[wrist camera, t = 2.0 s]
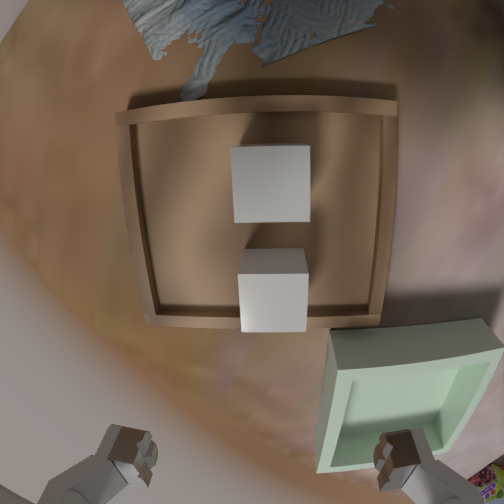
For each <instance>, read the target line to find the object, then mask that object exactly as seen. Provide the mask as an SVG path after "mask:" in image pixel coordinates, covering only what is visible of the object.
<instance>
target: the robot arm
mask: <svg viewBox="0 0 504 504" xmlns="http://www.w3.org/2000/svg"><path fill="white" fill-rule="evenodd" d="M151 439H152V435H151V433H150V431H144V430H139V429H134V428H129V427H124V426H120V425H114V424H111V425H110V426H109V427H108V429H107V431H106V433H105V435H104V437H103V439H102V441H101V444H100V446H99V448H98V450H97V452H96V454H95V456H94V455H90V456H89V457H87V458H86V459H84V460H82V461H81V462H79V463H78V464H76V465H74V466H73V467H71V468H69V469H68V470H66V471H64V472H63V473H61V474H59V475H58V476H56V477H54V478H52V479H51V480H49V482H48V484H47V486H46V488H45V490H44V491H43V494H42V496H41V497H40V500H39V502H38V504H106V503H107V502H108V501H109V500H111V499H112V498H113V497H114V496H115V495H116V494H118V493H119V492H120V491H121V490H122V489H124V488H125V487H126V486H127V485H128V484H132V485H137V486H142V487H147V488H148V487H149V484H150V481H151V477H152V475H153V474H152V472H151V470H150V469H151V468H152V467H153V466H155V464H156V462H157V457H158V449H157V446H156V443H154V442H153V441H152V440H151ZM379 441H380V443H379V444H377V445H376V447H375V450H374V456H373V458H374V466H375V468H376V469H377V470H378V471H379V472H380V473H379V475H378V476H377V480H378V485H379V490H380V492H381V491H387V490H393V489H398V488H401V489H402V490H403V491H404V492H405V493H406V494H407V495H408V496H409V497H410V498H411V499H412V500H413V501H414V502H415V503H416V504H485V503H484V501H483V498H482V495H481V492H480V489H479V488H478V487H476V486H475V485H473V484H472V483H471V482H469V481H468V480H466V479H465V478H463V477H462V476H461V475H459V474H458V473H456V472H455V471H453V470H452V469H451V468H449V467H448V466H447V465H445V464H444V463H442V462H441V461H440V460H435V459H434V457H433V454H432V451H431V448H430V446H429V443H428V440H427V438H426V435H425V432H424V430H423V428H422V427H415V428H410V429H403V430H398V431H392V432H386V433H382V434H381V435H380V437H379ZM0 504H34V503H32V502H30V501H28V500H27V499H25V498H23V497H21V496H19V495H18V494H16V493H14V492H12V491H11V490H9V489H7V488H6V487H4V486H2V485H1V484H0Z"/></svg>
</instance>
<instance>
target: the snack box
mask: <svg viewBox="0 0 504 504" xmlns="http://www.w3.org/2000/svg"><path fill="white" fill-rule="evenodd" d="M468 481H469V482H471V483H472V484H473V485H475V486H476V487H478V488H479V489H480V492H481V495H482V498H483V501H484V503H485V504H504V467H502V466H498V465H494V464H489V465H488V466H487V467H485V468H484V469H483V470H481V471H480V472H478V473H477V474H476V475H474V476H473V477H472V478H470V479H469V480H468Z"/></svg>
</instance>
